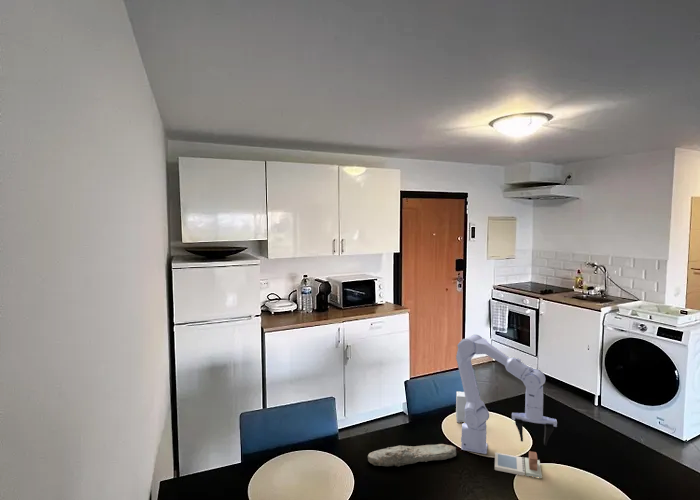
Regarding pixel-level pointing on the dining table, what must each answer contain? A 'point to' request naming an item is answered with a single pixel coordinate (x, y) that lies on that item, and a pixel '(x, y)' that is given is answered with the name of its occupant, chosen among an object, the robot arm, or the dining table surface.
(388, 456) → the long grey stone
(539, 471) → the stub
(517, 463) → the ticket board
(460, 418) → the skincare box
